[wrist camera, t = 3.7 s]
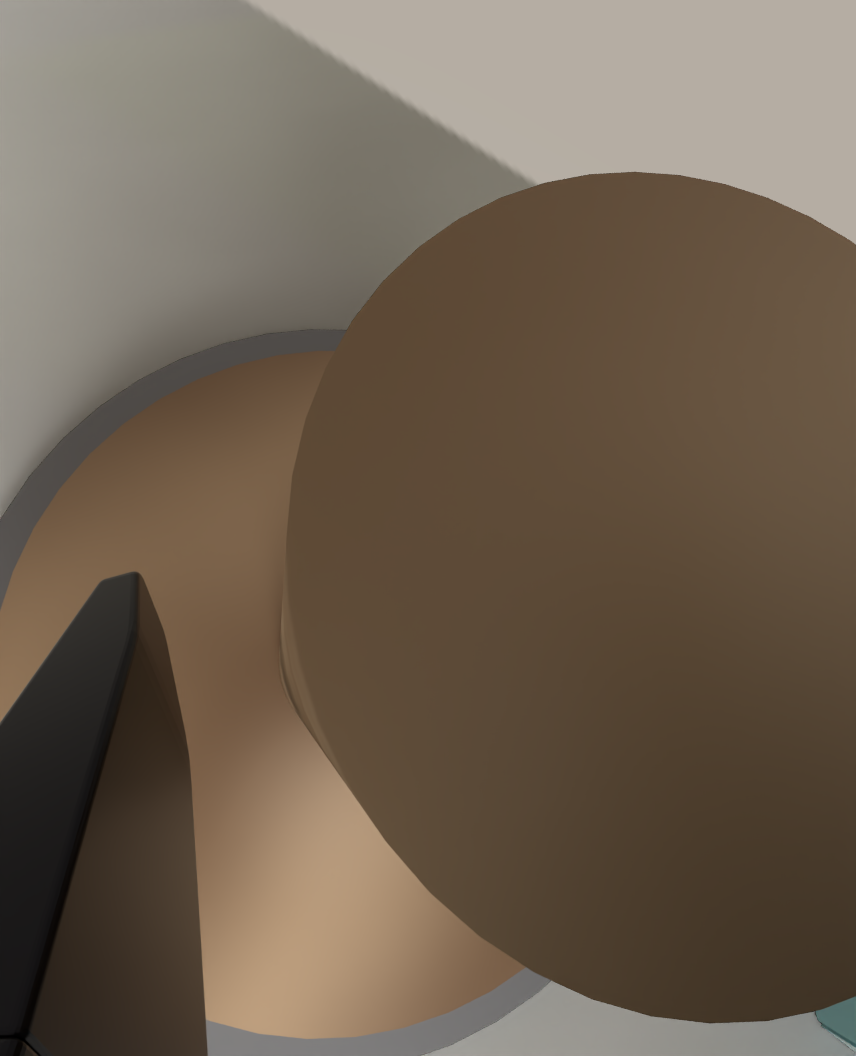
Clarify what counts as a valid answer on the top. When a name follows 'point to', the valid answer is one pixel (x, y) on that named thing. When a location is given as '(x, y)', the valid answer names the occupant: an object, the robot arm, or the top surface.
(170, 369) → the mat
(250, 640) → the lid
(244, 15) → the top surface
